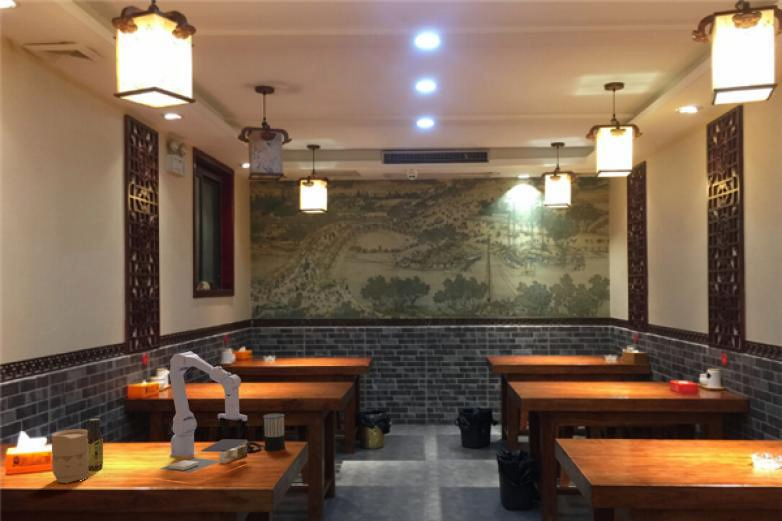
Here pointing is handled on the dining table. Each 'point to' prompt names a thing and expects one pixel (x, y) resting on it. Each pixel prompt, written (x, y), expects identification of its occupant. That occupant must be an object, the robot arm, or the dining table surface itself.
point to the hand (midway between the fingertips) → (232, 436)
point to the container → (70, 455)
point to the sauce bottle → (95, 445)
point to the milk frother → (271, 434)
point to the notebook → (225, 445)
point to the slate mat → (202, 464)
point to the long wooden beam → (233, 454)
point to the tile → (184, 465)
